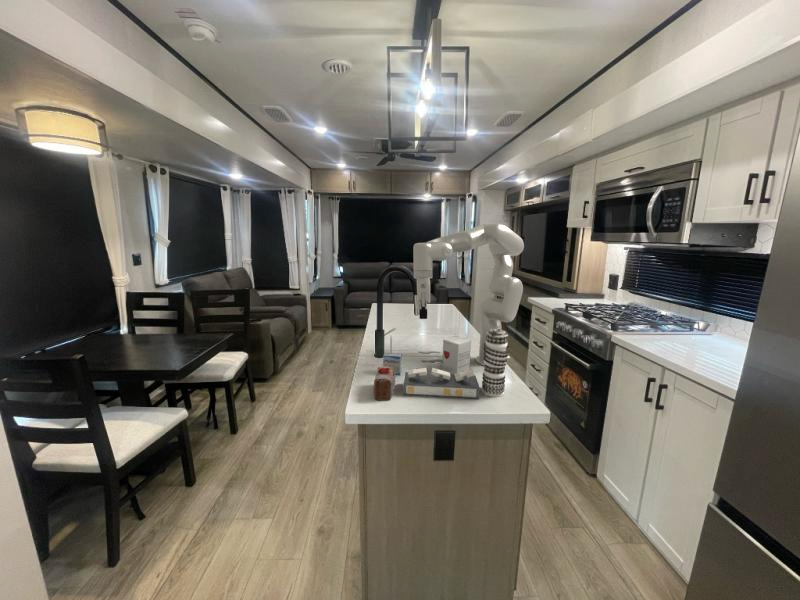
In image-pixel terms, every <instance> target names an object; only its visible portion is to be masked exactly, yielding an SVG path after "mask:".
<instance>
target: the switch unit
mask: <svg viewBox="0 0 800 600" xmlns="http://www.w3.org/2000/svg"><path fill="white" fill-rule="evenodd" d="M408 372H409V371H405V374H404V379H403V396H411V397H412V396H414V397H427V398H428V397H430V398H431V397H432V398H448V399H450V398H451V399H466V400H467V399H468V400H469V399H470V400H479V399H480V398H479V396H480V385H479V382H478V378H477V376H476V375H475V374H474V376H471V377H468V378H467V376H464V377H463V380H460V381H457V380H456V378H455V374H450V380H448V379H445V378H443V375H440V376H439V377H438V376H434V375H432V372H430V373H429V372H427V375H423V376H419V374H416V377H409V376H408ZM462 372H463V371H462Z"/></svg>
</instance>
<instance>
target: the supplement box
mask: <svg viewBox="0 0 800 600" xmlns="http://www.w3.org/2000/svg"><path fill="white" fill-rule="evenodd" d="M442 341H443V343H442V345H443V346H442V360H441V361H442V363H441V364H442V368H441V370H442V371H446V372H449V373H450V374H457V373H460V372H462V371H466V370H469V369H470V364H471V363H470V362H471V346H472V340H470V339H467V338H464V337H461V336H458V335H454V336H451V337H445V338H443V340H442Z"/></svg>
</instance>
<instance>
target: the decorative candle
mask: <svg viewBox="0 0 800 600" xmlns="http://www.w3.org/2000/svg"><path fill="white" fill-rule="evenodd" d="M486 334H487V336H486V342H485V343H484V353H483V354H484V356H483V357H484V364H485V366H484V368H483V373H482V381H481V383H482V385H481V391H482V393H483V394H484V395H486V396H489V397H494V398H495V397H496V398H498V397H502V396H504V394H505V387H506V384H505V383H506V371H505V370H506V368H505V367H507V362H508V360H507V359H505V357H507V356H509V355H508V354H509V350H508V348H509V347H510V345H508V336H509V334H508V333H507V332H506V330H504V328H503V329H498V328H492V329H490V330H489V331H488V332H486ZM485 353H486V354H485Z"/></svg>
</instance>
